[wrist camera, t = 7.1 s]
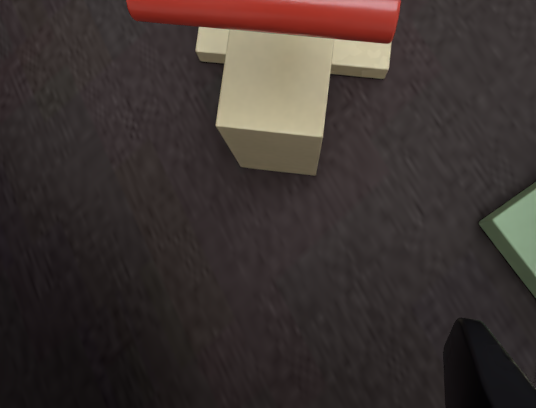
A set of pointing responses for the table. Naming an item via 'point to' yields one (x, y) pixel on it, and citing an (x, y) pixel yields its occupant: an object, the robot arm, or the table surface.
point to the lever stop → (275, 100)
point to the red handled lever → (279, 16)
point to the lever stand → (343, 59)
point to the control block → (516, 234)
